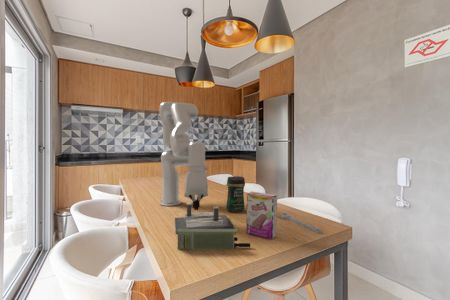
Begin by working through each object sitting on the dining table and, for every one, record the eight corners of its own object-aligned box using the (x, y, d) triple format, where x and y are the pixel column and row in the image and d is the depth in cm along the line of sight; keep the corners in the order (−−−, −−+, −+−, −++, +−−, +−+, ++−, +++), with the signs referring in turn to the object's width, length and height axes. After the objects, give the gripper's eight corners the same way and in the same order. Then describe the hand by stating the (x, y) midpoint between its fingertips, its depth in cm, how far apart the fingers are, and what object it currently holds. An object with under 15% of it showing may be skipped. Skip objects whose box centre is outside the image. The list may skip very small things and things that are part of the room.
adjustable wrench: (323, 234, 91) (323, 230, 91) (310, 236, 89) (310, 232, 89) (287, 215, 115) (287, 211, 115) (276, 216, 112) (276, 213, 112)
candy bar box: (245, 234, 89) (246, 193, 89) (250, 230, 93) (251, 191, 93) (272, 240, 83) (273, 197, 83) (276, 235, 88) (277, 194, 87)
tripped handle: (186, 216, 101) (186, 202, 101) (191, 216, 102) (191, 202, 102) (186, 217, 100) (187, 203, 99) (191, 217, 100) (191, 203, 100)
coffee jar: (229, 213, 115) (229, 177, 114) (224, 209, 122) (225, 175, 122) (246, 212, 118) (247, 177, 117) (241, 208, 125) (241, 175, 125)
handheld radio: (178, 246, 78) (249, 246, 79) (177, 251, 75) (250, 251, 76) (178, 227, 78) (249, 227, 78) (177, 231, 75) (251, 231, 75)
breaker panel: (174, 221, 103) (174, 213, 103) (225, 217, 108) (225, 210, 108) (175, 233, 88) (175, 225, 88) (233, 229, 94) (233, 220, 94)
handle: (213, 220, 96) (213, 206, 96) (217, 220, 97) (217, 205, 97) (214, 222, 94) (214, 207, 94) (218, 222, 95) (218, 207, 95)
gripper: (211, 168, 107) (210, 206, 107) (179, 168, 103) (178, 207, 103) (214, 170, 99) (213, 210, 100) (180, 170, 96) (179, 212, 96)
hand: (196, 209), depth 102 cm, fingers closed
